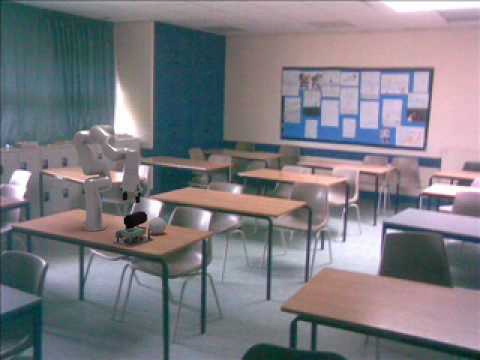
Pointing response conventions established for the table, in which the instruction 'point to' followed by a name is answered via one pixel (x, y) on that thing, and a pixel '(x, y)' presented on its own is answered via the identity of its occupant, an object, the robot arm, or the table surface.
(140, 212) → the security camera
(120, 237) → the stand
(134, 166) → the robot arm
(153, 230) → the eye model
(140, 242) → the chassis
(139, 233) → the board
